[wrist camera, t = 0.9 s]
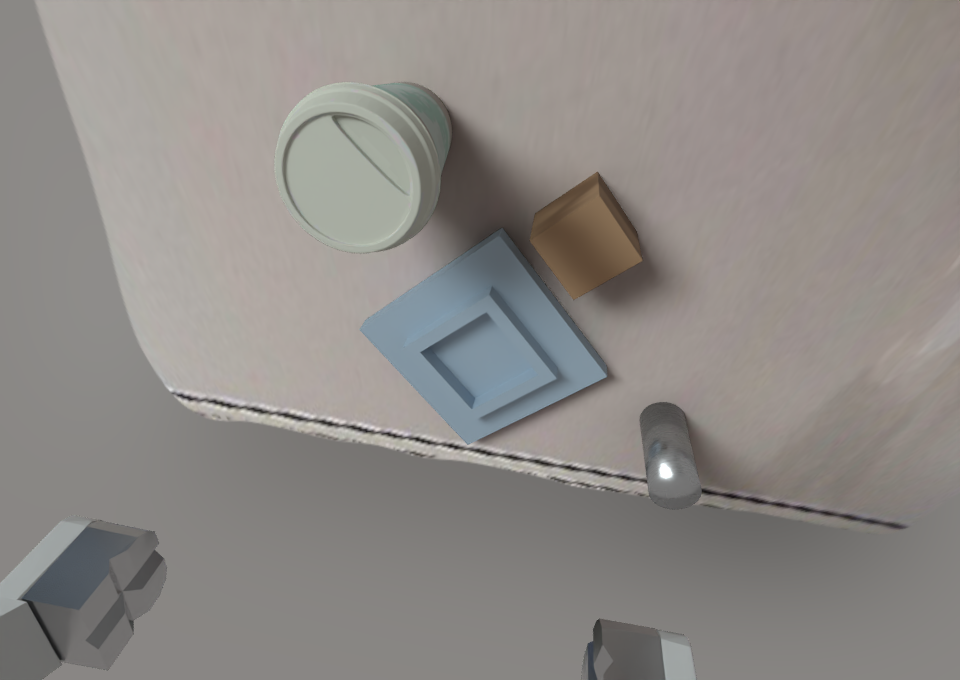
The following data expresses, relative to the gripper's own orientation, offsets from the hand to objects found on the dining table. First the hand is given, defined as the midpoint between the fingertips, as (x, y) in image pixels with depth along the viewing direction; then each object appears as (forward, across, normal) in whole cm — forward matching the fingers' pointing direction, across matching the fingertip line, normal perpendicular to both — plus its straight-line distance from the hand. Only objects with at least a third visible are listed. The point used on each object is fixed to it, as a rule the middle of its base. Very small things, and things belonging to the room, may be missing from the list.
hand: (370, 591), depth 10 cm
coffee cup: (+33, +8, 0) cm, 33 cm away
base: (+32, +1, +15) cm, 36 cm away
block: (+32, -5, +4) cm, 33 cm away
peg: (+32, -15, +20) cm, 41 cm away
